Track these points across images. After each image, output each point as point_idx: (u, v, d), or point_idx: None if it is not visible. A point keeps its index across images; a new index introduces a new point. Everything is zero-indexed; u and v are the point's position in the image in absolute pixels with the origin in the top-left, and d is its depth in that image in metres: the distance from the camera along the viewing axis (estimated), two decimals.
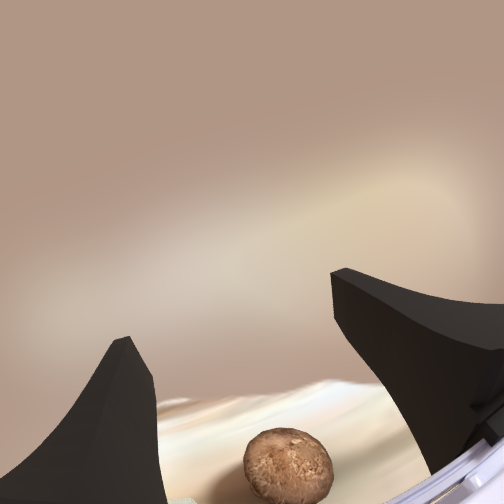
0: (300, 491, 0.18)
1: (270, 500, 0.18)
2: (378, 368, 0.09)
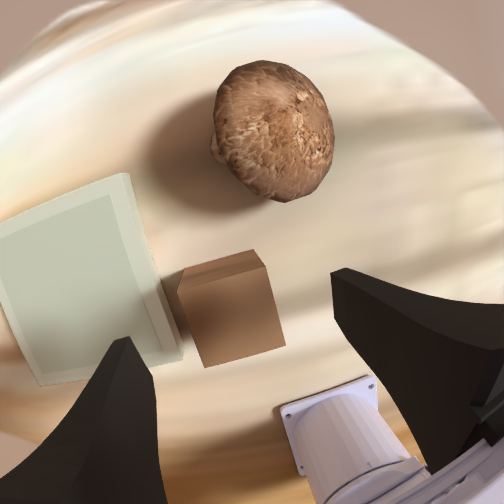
0: (300, 182, 0.16)
1: (253, 189, 0.16)
2: (378, 368, 0.09)
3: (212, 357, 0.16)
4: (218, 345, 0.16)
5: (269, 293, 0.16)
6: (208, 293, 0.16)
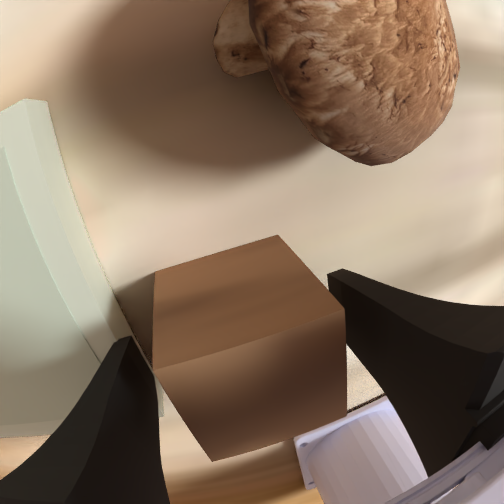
0: (419, 134, 0.06)
1: (324, 135, 0.06)
2: (375, 370, 0.09)
3: (225, 450, 0.08)
4: (237, 436, 0.08)
5: (340, 353, 0.08)
6: (223, 368, 0.07)
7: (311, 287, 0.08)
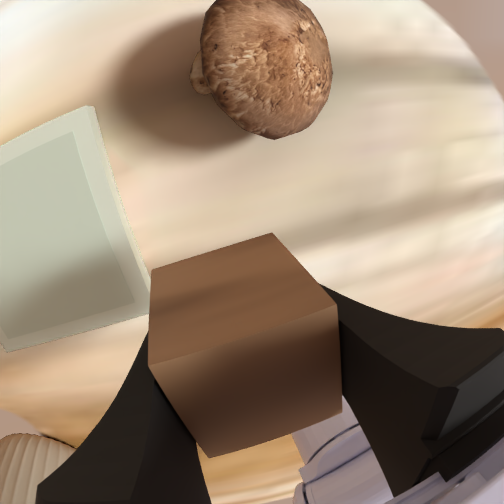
0: (295, 119, 0.13)
1: (241, 124, 0.13)
2: None
3: (222, 446, 0.08)
4: (233, 432, 0.08)
5: (334, 349, 0.08)
6: (217, 364, 0.07)
7: (304, 283, 0.08)
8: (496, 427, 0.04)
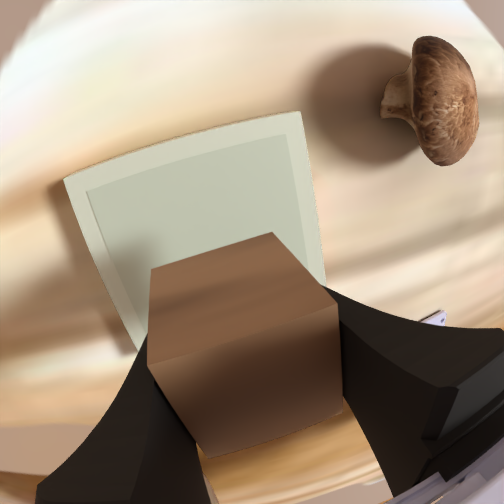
0: (462, 154, 0.15)
1: (431, 153, 0.15)
2: None
3: (221, 447, 0.08)
4: (233, 433, 0.08)
5: (334, 349, 0.08)
6: (216, 363, 0.07)
7: (304, 283, 0.08)
8: (496, 427, 0.04)
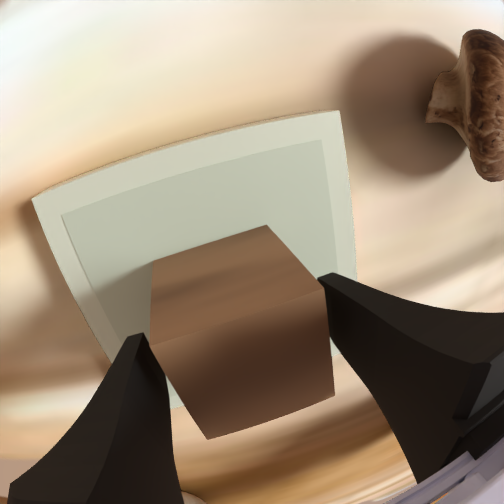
0: None
1: (485, 168, 0.12)
2: (364, 374, 0.09)
3: (219, 428, 0.09)
4: (230, 413, 0.09)
5: (323, 332, 0.08)
6: (213, 344, 0.08)
7: (295, 270, 0.09)
8: None
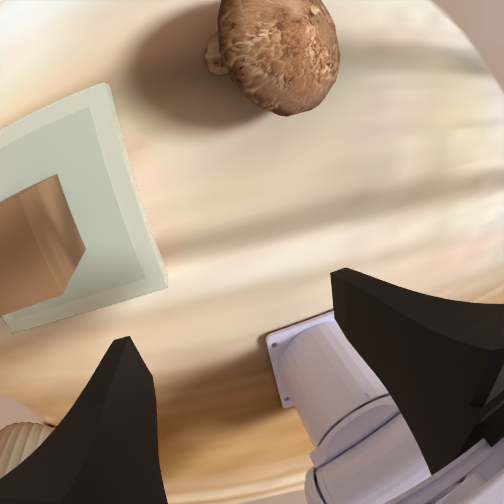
0: (306, 96, 0.14)
1: (255, 99, 0.14)
2: (378, 368, 0.09)
3: None
4: None
5: (28, 230, 0.10)
6: None
7: (24, 191, 0.11)
8: None
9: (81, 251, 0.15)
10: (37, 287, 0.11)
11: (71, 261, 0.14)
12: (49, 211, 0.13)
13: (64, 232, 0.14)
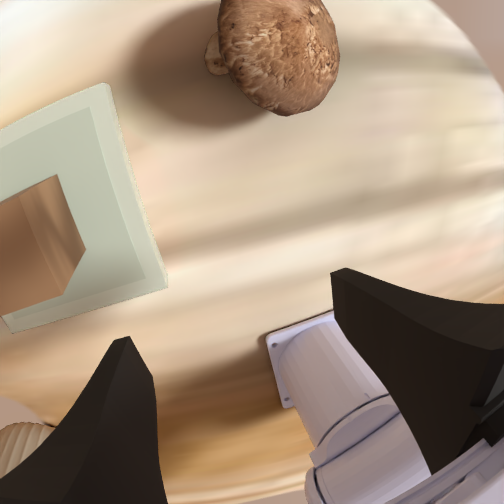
0: (306, 96, 0.14)
1: (255, 99, 0.14)
2: (378, 368, 0.09)
3: None
4: None
5: (28, 230, 0.10)
6: None
7: (24, 191, 0.11)
8: None
9: (81, 251, 0.15)
10: (37, 287, 0.11)
11: (71, 261, 0.14)
12: (49, 211, 0.13)
13: (64, 232, 0.14)
